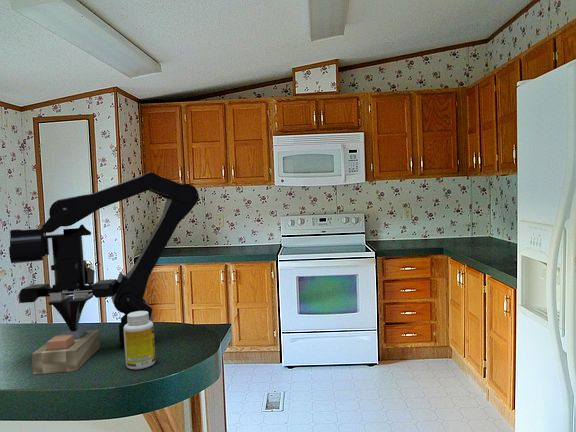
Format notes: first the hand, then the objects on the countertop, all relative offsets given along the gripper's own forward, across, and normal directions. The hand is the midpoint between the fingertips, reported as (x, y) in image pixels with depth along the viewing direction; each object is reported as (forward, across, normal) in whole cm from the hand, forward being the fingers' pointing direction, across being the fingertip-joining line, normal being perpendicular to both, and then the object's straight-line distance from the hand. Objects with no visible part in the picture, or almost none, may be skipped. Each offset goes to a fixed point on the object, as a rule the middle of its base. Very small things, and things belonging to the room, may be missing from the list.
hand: (73, 330), depth 92 cm
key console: (+5, 0, +3) cm, 6 cm away
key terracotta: (+2, 0, +6) cm, 7 cm away
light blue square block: (+3, 0, 0) cm, 3 cm away
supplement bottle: (+5, -16, +9) cm, 19 cm away
